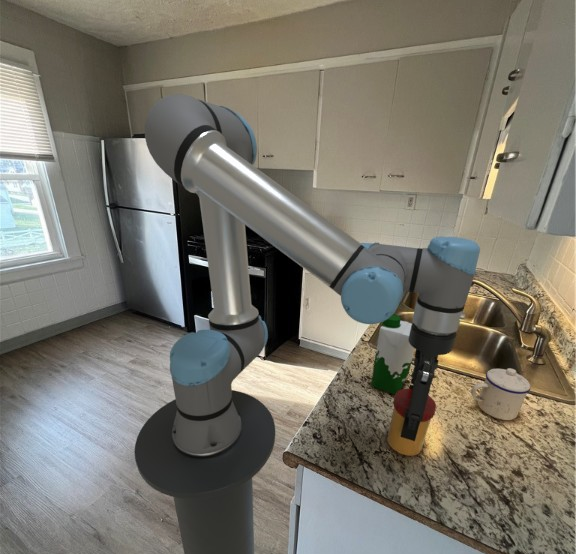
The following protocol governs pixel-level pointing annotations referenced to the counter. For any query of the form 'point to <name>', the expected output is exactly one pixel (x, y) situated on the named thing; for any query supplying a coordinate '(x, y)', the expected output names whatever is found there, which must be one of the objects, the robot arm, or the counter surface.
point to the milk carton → (392, 355)
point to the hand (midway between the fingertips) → (409, 423)
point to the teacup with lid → (502, 393)
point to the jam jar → (405, 444)
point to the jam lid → (403, 402)
